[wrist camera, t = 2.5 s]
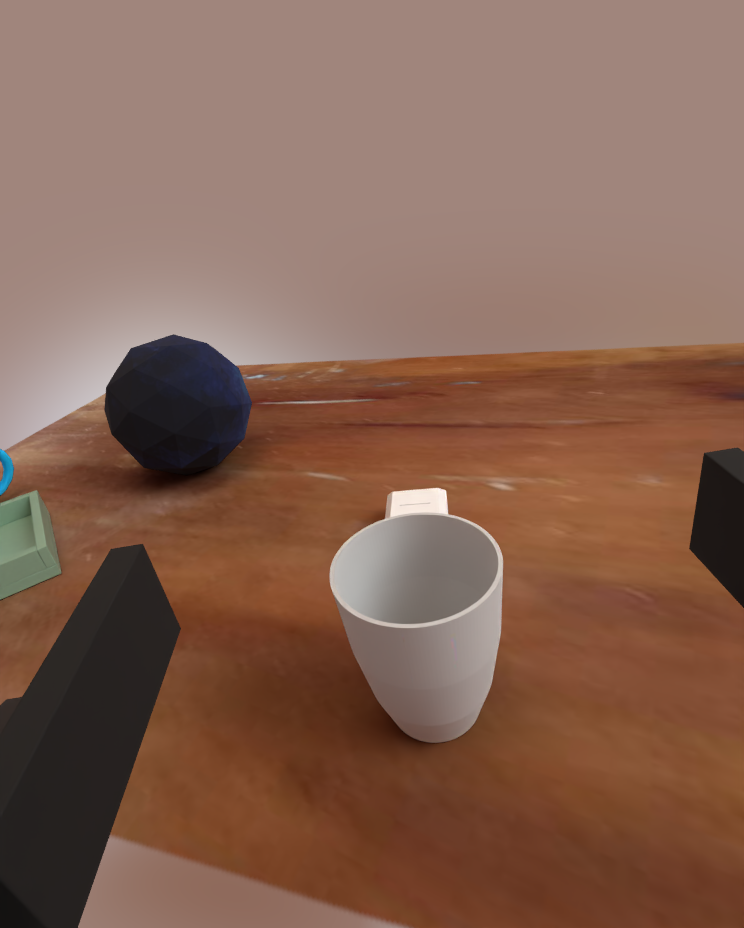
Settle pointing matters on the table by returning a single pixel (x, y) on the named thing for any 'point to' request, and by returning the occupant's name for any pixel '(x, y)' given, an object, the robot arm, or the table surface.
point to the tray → (26, 544)
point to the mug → (6, 471)
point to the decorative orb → (177, 405)
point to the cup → (423, 617)
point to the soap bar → (416, 502)
